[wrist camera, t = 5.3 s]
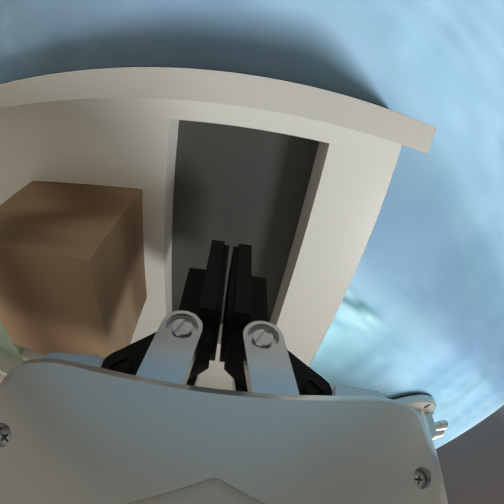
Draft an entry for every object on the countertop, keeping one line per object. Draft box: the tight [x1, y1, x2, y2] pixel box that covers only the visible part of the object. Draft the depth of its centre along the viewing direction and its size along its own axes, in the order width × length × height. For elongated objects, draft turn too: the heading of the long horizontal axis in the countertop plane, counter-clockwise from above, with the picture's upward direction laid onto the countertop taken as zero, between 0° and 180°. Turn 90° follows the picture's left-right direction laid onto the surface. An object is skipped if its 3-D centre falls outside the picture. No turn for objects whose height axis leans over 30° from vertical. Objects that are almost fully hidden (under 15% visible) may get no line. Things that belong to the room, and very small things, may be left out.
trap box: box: [0, 67, 436, 390], centre depth 15 cm, size 32×24×5 cm
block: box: [0, 181, 147, 358], centre depth 11 cm, size 6×6×5 cm
